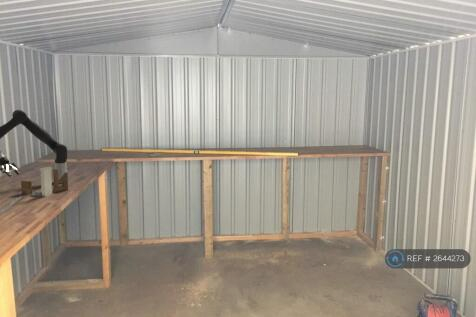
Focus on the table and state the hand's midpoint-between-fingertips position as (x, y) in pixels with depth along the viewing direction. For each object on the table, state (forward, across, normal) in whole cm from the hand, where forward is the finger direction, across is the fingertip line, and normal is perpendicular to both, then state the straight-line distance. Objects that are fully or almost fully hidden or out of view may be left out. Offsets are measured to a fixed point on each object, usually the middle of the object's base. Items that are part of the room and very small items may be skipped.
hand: (14, 175), depth 320 cm
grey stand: (+26, 0, -6) cm, 27 cm away
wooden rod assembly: (+29, +16, -10) cm, 35 cm away
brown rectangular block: (+17, 0, +3) cm, 17 cm away
